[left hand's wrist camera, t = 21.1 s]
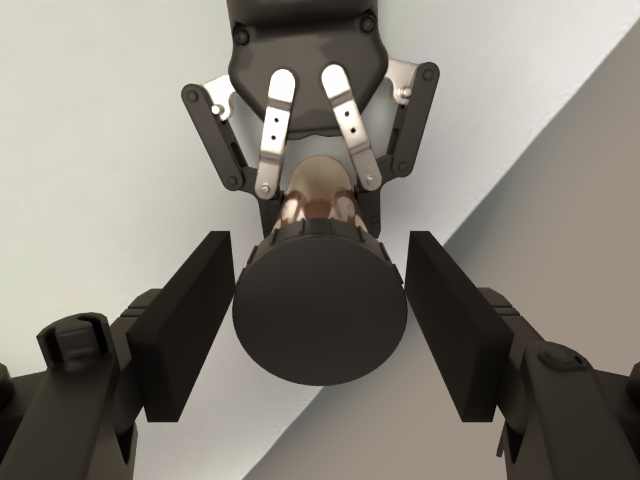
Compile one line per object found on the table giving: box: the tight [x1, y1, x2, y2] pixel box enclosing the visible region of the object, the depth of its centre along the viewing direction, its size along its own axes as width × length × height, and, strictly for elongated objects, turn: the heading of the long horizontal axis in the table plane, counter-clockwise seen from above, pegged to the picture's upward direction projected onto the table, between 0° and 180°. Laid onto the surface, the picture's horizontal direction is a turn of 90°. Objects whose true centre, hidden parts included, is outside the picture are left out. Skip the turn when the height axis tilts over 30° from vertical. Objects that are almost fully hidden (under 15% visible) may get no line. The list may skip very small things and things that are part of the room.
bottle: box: [271, 155, 369, 233], centre depth 19 cm, size 4×4×17 cm
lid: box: [232, 217, 408, 386], centre depth 11 cm, size 5×6×2 cm
